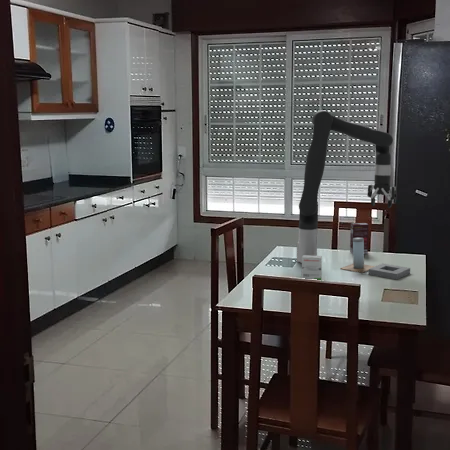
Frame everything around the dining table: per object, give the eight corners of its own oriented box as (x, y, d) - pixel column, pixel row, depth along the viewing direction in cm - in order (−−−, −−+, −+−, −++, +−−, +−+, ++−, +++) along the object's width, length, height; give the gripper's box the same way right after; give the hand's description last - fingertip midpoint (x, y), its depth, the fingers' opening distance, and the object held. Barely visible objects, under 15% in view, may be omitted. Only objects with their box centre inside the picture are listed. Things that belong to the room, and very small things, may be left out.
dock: (368, 274, 290) (368, 269, 290) (382, 268, 301) (382, 263, 300) (396, 279, 281) (396, 274, 281) (410, 273, 292) (410, 268, 291)
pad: (340, 269, 300) (340, 268, 300) (354, 263, 310) (354, 262, 310) (362, 273, 292) (362, 272, 292) (376, 267, 303) (376, 266, 303)
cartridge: (351, 267, 301) (350, 239, 299) (356, 265, 305) (356, 237, 303) (360, 268, 298) (360, 240, 296) (365, 266, 301) (365, 238, 299)
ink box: (321, 281, 279) (322, 255, 277) (321, 284, 275) (321, 257, 272) (302, 280, 281) (302, 254, 279) (301, 283, 276) (301, 257, 274)
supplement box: (364, 251, 336) (365, 222, 333) (368, 253, 331) (369, 224, 328) (349, 252, 335) (350, 223, 332) (352, 254, 330) (353, 224, 327)
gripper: (365, 173, 306) (364, 206, 309) (392, 175, 297) (391, 209, 300) (373, 172, 312) (371, 204, 315) (399, 174, 303) (398, 207, 306)
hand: (381, 206), depth 307 cm, fingers open, 8 cm apart
